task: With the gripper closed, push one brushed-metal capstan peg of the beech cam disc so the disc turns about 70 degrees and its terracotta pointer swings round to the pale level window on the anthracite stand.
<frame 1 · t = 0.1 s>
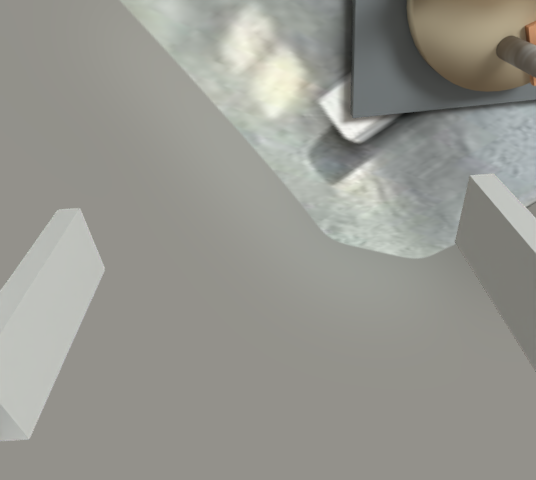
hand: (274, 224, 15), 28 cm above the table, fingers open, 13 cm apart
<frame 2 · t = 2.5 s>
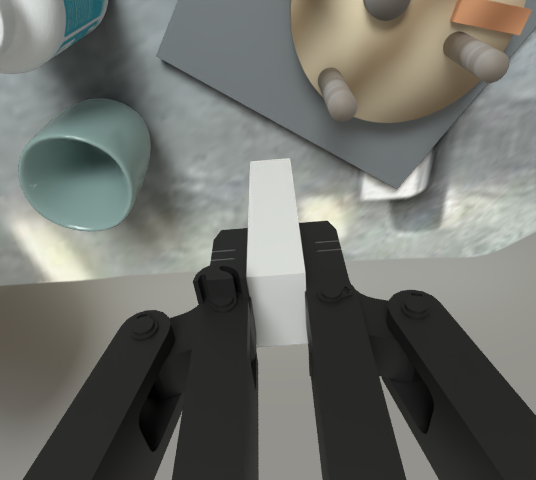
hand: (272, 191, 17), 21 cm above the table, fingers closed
cup: (115, 129, 37), on the table
cam disc: (408, 8, 27), point 6 cm above the table, hinge at 0.0°
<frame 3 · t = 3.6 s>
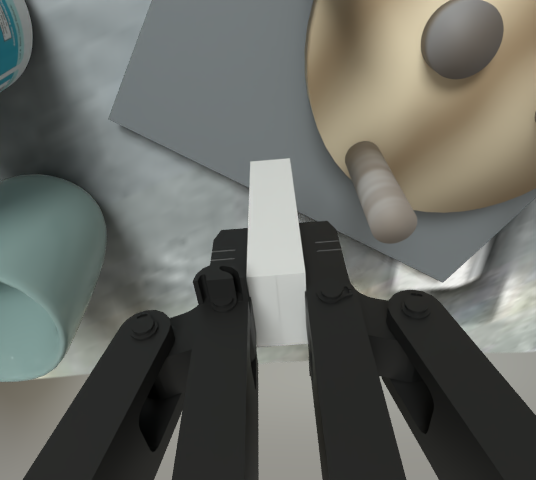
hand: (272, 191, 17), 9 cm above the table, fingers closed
stand: (429, 21, 21), on the table
cup: (60, 209, 27), on the table
cam disc: (498, 64, 17), point 6 cm above the table, hinge at 0.0°
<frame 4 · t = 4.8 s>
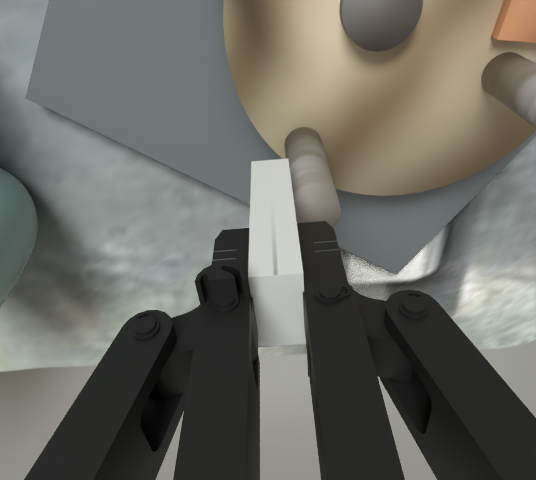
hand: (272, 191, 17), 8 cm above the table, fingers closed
cam disc: (418, 30, 16), point 6 cm above the table, hinge at 6.1°, touching gripper
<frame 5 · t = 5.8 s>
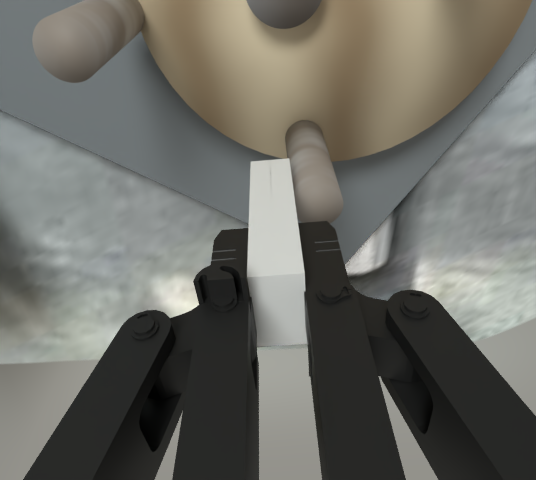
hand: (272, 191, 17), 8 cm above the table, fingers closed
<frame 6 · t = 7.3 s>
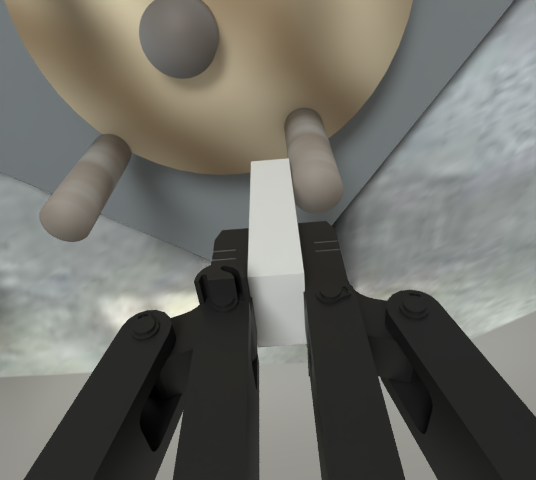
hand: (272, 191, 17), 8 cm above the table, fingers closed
stand: (193, 18, 20), on the table
cam disc: (192, 13, 15), point 6 cm above the table, hinge at 82.6°, touching gripper
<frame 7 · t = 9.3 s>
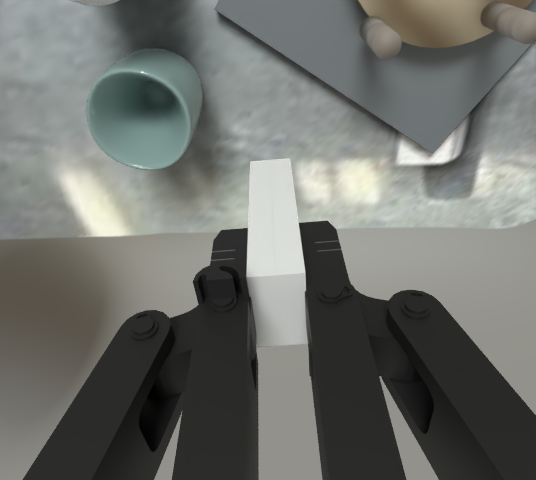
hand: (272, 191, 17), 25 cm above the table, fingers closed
cup: (167, 83, 39), on the table
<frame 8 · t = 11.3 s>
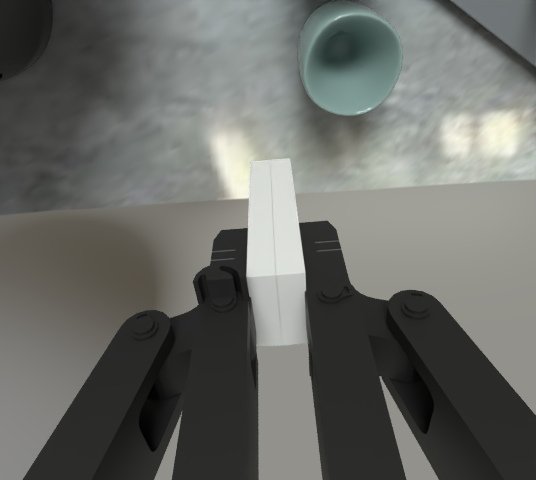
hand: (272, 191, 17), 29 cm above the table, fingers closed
cup: (333, 39, 41), on the table
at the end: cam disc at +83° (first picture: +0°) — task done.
